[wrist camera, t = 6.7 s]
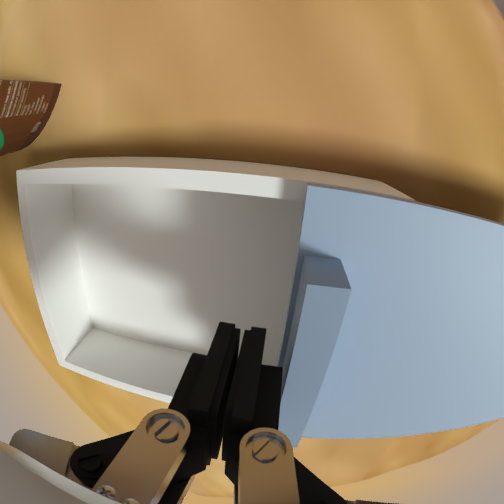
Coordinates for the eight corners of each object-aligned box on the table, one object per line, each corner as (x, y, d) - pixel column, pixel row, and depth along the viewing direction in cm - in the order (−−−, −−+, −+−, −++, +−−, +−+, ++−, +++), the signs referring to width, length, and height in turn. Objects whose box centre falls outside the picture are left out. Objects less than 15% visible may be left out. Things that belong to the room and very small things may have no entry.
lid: (306, 182, 9) (312, 198, 7) (585, 252, 8) (611, 270, 5) (264, 425, 14) (259, 464, 11) (501, 411, 12) (513, 436, 10)
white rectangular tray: (69, 158, 15) (16, 170, 10) (379, 180, 13) (415, 200, 9) (91, 328, 19) (59, 365, 15) (330, 372, 18) (335, 426, 14)
